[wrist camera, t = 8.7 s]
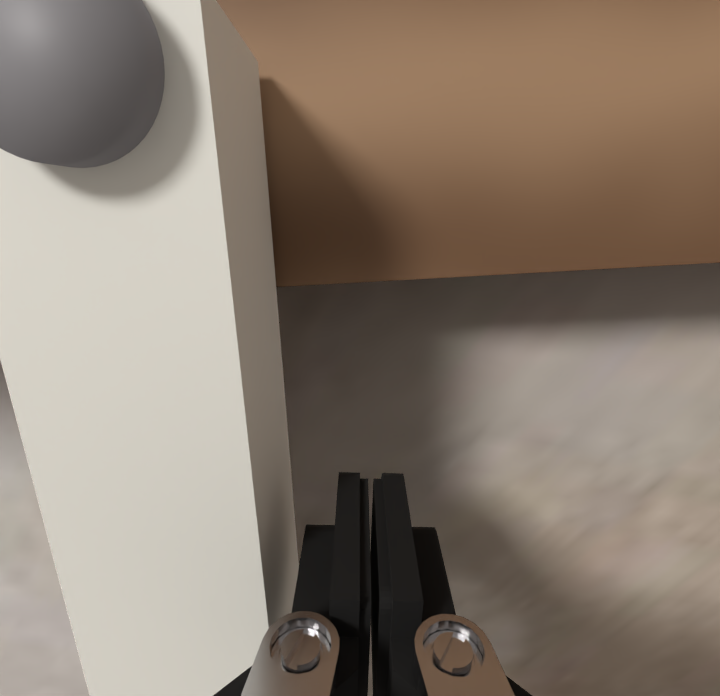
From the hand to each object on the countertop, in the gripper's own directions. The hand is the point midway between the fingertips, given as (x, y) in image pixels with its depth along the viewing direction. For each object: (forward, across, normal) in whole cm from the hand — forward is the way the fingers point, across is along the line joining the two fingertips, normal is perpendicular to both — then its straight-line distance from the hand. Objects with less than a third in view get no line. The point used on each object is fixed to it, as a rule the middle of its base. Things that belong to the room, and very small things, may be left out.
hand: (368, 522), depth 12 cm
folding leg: (+1, +4, -1) cm, 5 cm away
